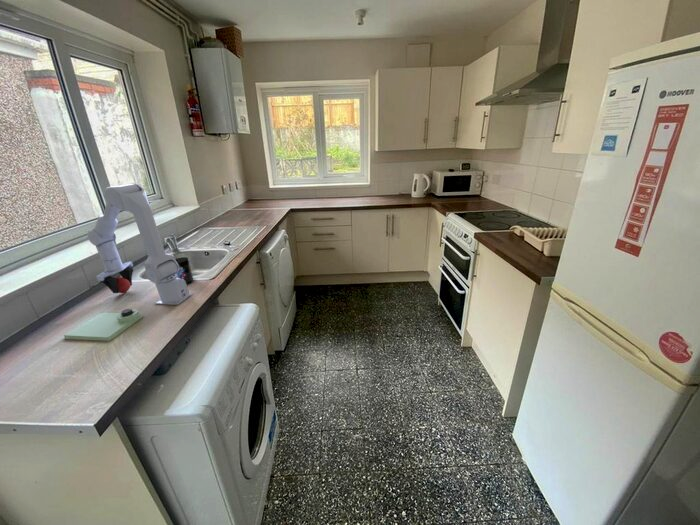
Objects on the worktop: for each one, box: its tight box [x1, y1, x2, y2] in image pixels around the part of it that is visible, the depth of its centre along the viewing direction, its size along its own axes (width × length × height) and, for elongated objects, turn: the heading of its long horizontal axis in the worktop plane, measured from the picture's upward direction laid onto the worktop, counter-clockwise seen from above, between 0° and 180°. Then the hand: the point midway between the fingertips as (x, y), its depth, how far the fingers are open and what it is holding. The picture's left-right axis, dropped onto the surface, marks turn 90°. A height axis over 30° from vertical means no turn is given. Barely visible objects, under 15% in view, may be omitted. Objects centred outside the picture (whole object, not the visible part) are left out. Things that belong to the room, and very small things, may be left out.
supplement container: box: [175, 256, 195, 285], centre depth 124 cm, size 7×7×10 cm
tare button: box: [120, 308, 133, 317], centre depth 97 cm, size 3×3×2 cm
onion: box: [115, 275, 132, 294], centre depth 117 cm, size 6×6×8 cm
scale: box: [63, 308, 143, 342], centre depth 95 cm, size 16×13×3 cm
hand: (122, 289), depth 118 cm, fingers closed on onion, 6 cm apart
